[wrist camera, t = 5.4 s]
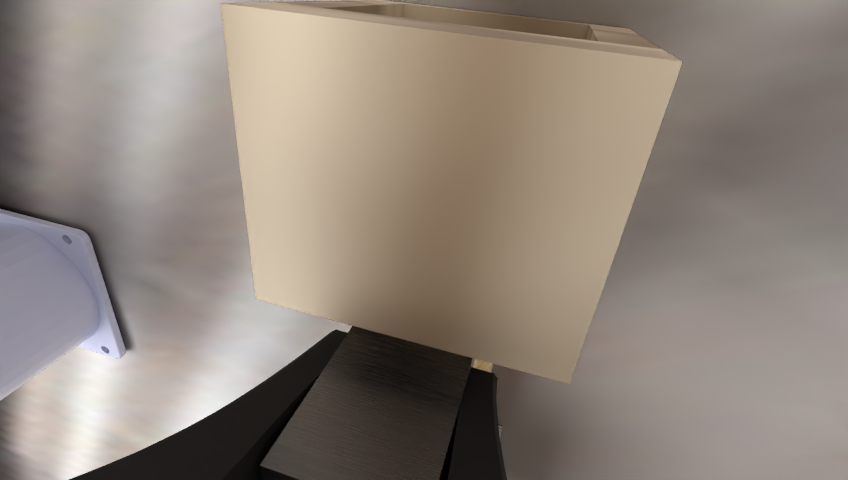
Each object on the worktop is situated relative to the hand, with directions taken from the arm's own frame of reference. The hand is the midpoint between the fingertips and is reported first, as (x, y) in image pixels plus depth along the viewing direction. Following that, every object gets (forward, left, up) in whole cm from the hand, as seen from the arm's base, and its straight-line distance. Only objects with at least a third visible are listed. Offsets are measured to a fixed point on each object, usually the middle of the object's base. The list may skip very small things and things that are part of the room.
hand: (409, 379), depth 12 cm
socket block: (0, +5, -6) cm, 8 cm away
